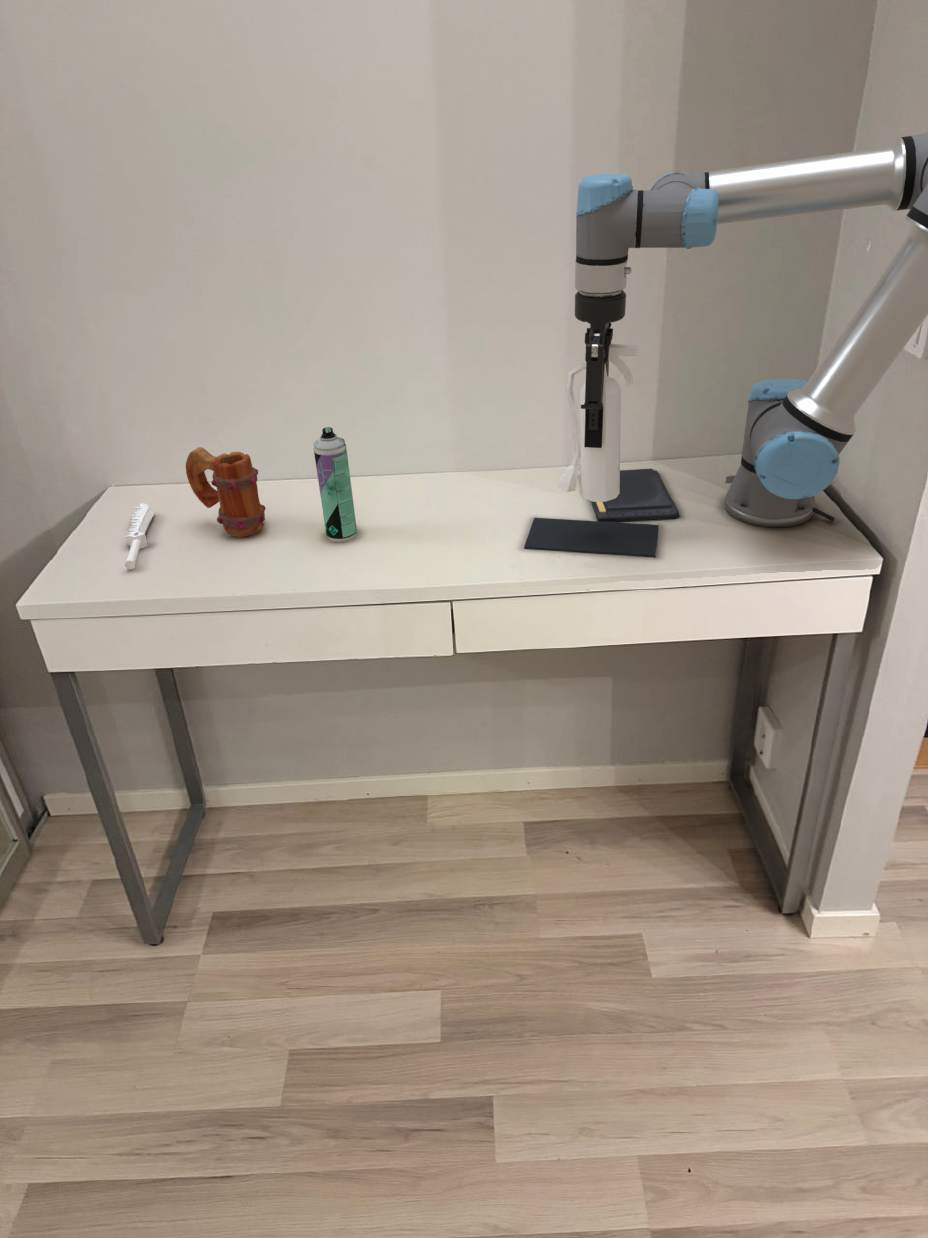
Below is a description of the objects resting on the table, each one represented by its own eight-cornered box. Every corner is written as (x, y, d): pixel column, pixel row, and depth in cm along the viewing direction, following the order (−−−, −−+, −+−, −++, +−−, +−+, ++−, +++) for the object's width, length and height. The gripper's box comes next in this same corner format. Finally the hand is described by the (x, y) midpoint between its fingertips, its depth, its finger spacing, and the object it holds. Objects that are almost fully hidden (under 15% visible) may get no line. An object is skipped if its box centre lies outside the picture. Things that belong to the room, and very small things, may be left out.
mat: (658, 526, 158) (658, 524, 158) (655, 557, 149) (655, 555, 149) (534, 519, 163) (534, 517, 162) (524, 548, 154) (524, 546, 153)
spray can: (344, 525, 164) (330, 420, 153) (363, 534, 161) (350, 427, 150) (320, 536, 161) (304, 429, 150) (339, 545, 158) (324, 437, 147)
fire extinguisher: (557, 484, 155) (558, 339, 141) (628, 484, 153) (637, 337, 139) (556, 502, 149) (558, 352, 135) (630, 502, 148) (639, 351, 134)
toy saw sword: (117, 573, 153) (136, 515, 172) (141, 570, 154) (157, 513, 172) (113, 559, 152) (133, 503, 170) (138, 557, 152) (154, 501, 171)
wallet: (681, 509, 159) (594, 513, 159) (680, 518, 160) (594, 522, 160) (659, 463, 176) (581, 467, 176) (659, 472, 177) (581, 476, 177)
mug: (279, 524, 166) (265, 447, 157) (253, 544, 160) (237, 465, 151) (215, 512, 171) (199, 438, 163) (187, 531, 165) (169, 455, 157)
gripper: (621, 308, 125) (613, 463, 137) (630, 275, 140) (623, 417, 153) (567, 307, 126) (564, 461, 139) (582, 275, 142) (579, 415, 155)
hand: (595, 437), depth 146 cm, fingers closed on fire extinguisher, 6 cm apart
